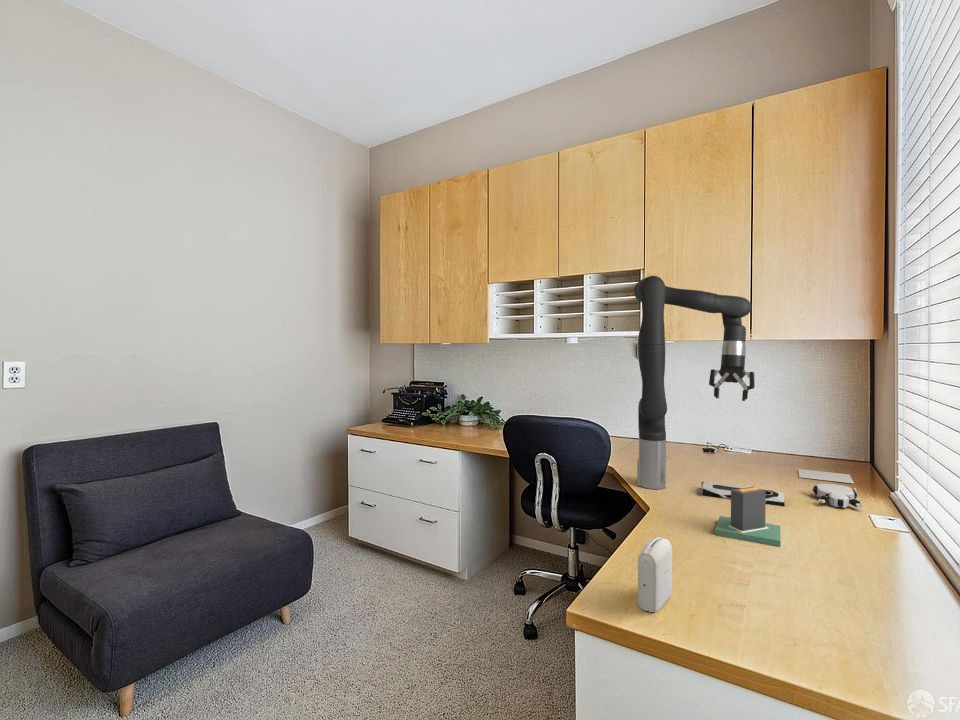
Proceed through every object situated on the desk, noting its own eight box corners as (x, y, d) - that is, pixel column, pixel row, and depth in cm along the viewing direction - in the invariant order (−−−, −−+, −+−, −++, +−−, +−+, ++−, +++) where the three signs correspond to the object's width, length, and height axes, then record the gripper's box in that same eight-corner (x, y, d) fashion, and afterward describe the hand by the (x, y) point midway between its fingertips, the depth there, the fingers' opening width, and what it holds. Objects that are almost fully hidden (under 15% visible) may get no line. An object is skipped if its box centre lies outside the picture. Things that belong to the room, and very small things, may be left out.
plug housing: (742, 531, 129) (743, 492, 129) (730, 525, 133) (731, 488, 132) (765, 527, 131) (765, 489, 131) (752, 522, 135) (753, 485, 135)
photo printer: (656, 616, 92) (656, 552, 92) (634, 608, 95) (634, 546, 95) (674, 594, 100) (675, 535, 100) (654, 587, 103) (654, 530, 103)
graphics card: (701, 480, 172) (784, 490, 160) (701, 490, 173) (784, 500, 160) (698, 488, 164) (786, 498, 152) (698, 497, 164) (786, 509, 152)
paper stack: (858, 492, 168) (858, 490, 168) (773, 482, 181) (773, 480, 181) (849, 476, 187) (849, 474, 187) (773, 468, 201) (773, 466, 201)
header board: (715, 534, 131) (715, 516, 131) (719, 520, 141) (719, 503, 141) (780, 546, 123) (780, 527, 123) (780, 530, 133) (780, 512, 133)
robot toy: (865, 516, 147) (854, 498, 160) (866, 501, 146) (855, 485, 159) (816, 510, 152) (809, 493, 165) (817, 496, 152) (810, 480, 165)
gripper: (709, 352, 174) (706, 397, 174) (754, 354, 166) (751, 402, 165) (713, 353, 180) (711, 397, 180) (757, 355, 172) (754, 401, 171)
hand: (730, 399), depth 173 cm, fingers open, 8 cm apart
